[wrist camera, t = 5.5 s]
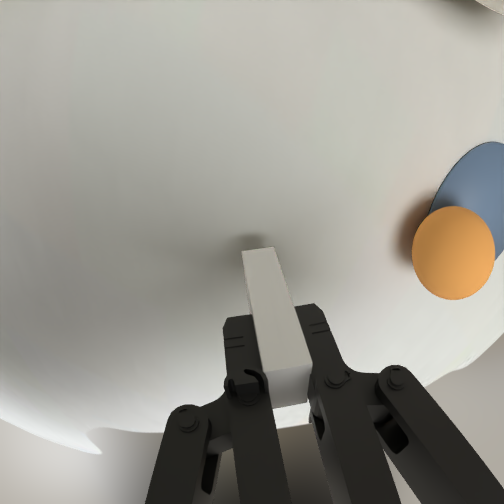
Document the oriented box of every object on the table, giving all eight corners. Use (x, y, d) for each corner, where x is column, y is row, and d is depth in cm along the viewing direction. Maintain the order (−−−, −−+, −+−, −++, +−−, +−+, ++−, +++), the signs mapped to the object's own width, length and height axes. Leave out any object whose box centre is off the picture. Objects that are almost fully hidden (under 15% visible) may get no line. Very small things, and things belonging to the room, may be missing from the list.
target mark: (406, 296, 20) (407, 298, 20) (439, 135, 13) (441, 136, 13) (499, 269, 21) (500, 271, 21) (533, 148, 14) (535, 149, 14)
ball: (428, 254, 19) (387, 286, 17) (443, 185, 16) (403, 204, 14) (487, 290, 15) (456, 334, 13) (514, 218, 12) (493, 249, 10)
